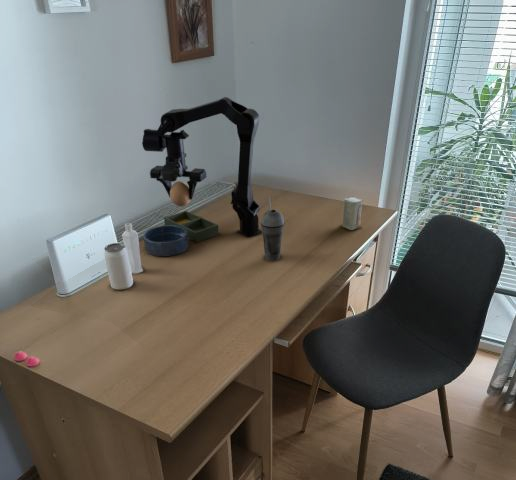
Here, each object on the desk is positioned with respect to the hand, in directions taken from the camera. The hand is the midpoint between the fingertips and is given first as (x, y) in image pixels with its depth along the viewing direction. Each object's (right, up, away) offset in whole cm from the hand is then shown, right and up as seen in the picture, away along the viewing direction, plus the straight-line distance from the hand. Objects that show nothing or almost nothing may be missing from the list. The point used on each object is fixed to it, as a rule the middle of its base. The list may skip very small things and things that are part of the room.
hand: (180, 198), depth 174 cm
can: (-13, -34, -28) cm, 46 cm away
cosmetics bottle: (+60, -9, +4) cm, 61 cm away
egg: (0, -2, +2) cm, 3 cm away
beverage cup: (+32, -24, -15) cm, 42 cm away
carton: (+3, -10, +4) cm, 11 cm away
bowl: (-3, -19, -8) cm, 21 cm away
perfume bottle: (-10, -28, -21) cm, 37 cm away
